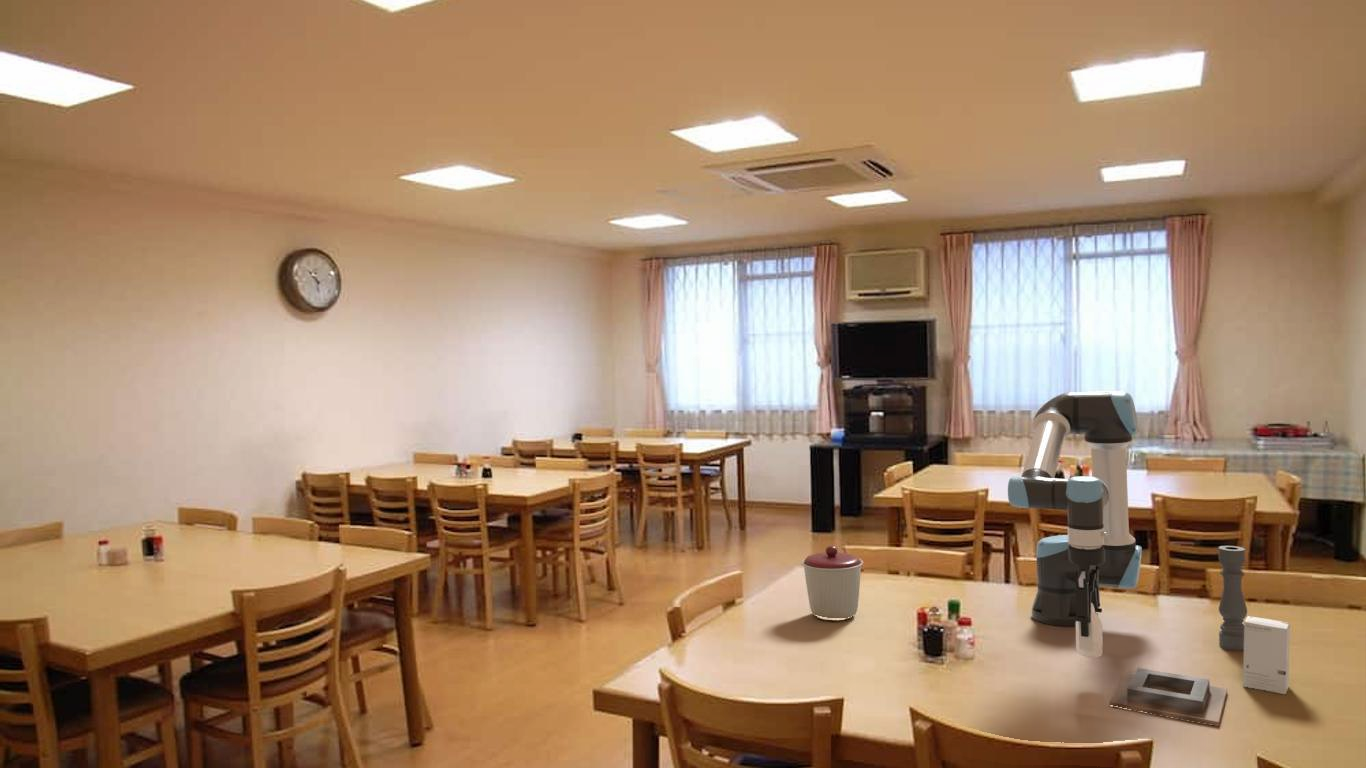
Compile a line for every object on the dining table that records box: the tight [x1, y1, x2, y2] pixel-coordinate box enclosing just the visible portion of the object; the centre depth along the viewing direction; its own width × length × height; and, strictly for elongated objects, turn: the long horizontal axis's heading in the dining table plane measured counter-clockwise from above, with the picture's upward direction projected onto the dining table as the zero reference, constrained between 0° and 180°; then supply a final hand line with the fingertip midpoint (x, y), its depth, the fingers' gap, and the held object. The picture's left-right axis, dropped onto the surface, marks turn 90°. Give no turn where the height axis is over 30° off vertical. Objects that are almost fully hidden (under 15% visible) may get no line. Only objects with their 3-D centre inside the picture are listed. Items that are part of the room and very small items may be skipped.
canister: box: [801, 545, 864, 618], centre depth 258 cm, size 18×18×21 cm
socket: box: [1109, 667, 1228, 727], centre depth 189 cm, size 20×20×4 cm
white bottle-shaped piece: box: [1075, 603, 1103, 658], centre depth 199 cm, size 6×12×6 cm
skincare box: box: [1242, 615, 1291, 695], centre depth 193 cm, size 8×6×15 cm
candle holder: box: [1218, 545, 1248, 652], centre depth 218 cm, size 6×6×25 cm
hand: (1089, 644), depth 199 cm, fingers closed on white bottle-shaped piece, 6 cm apart
